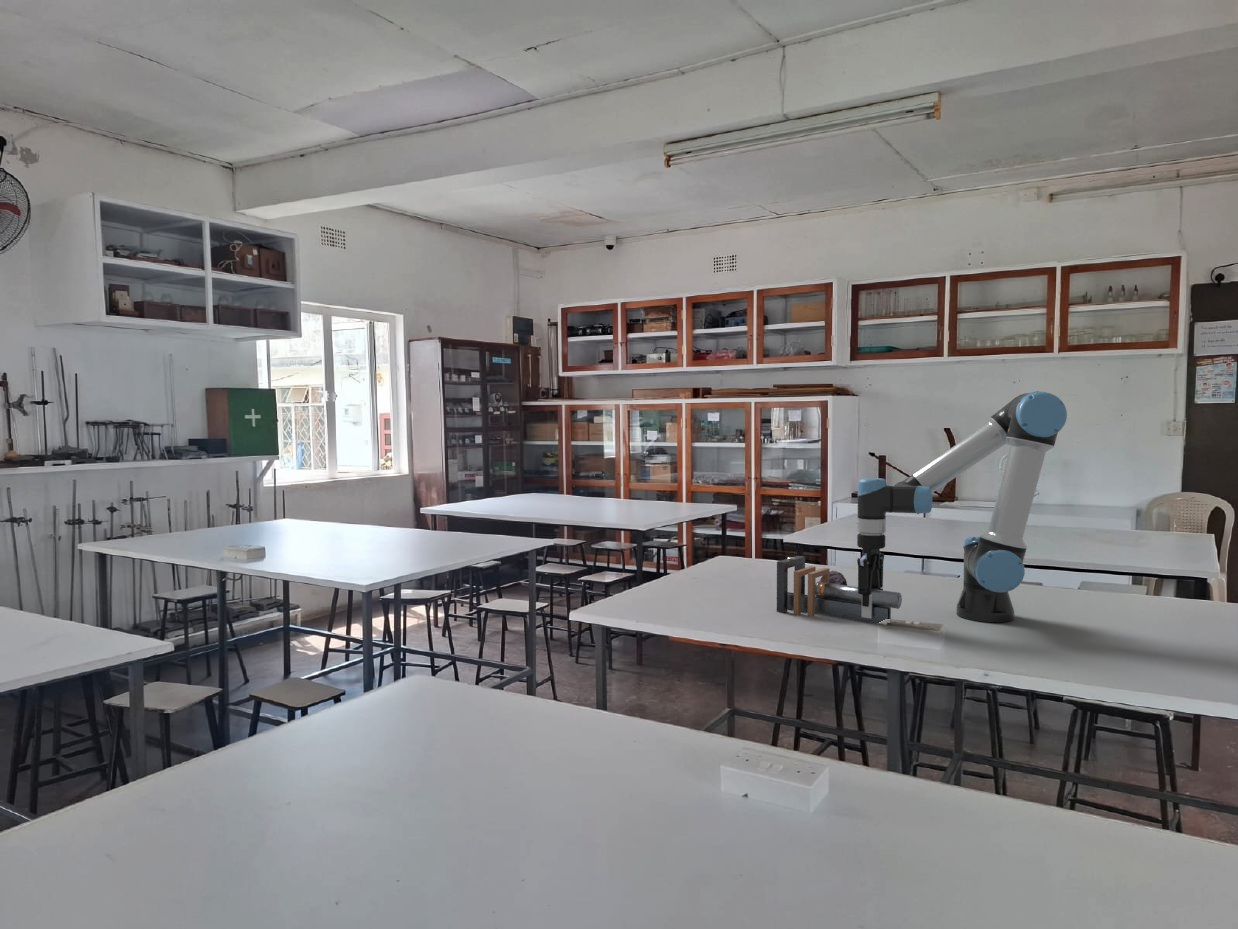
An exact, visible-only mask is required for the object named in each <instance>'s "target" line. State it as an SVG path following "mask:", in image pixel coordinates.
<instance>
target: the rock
mask: <svg viewBox="0 0 1238 929" xmlns="http://www.w3.org/2000/svg"><path fill="white" fill-rule="evenodd" d="M820 577H821V578H820V579H819V581H818V582H823V576H820ZM829 583H832V584H839V585H847V586H848V583H847V579H846V578H845V576H844V574H843V573H842V572H838V571H836V570H831V571H830V576H829Z"/></svg>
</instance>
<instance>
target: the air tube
mask: <svg viewBox="0 0 1238 929" xmlns="http://www.w3.org/2000/svg"><path fill="white" fill-rule="evenodd" d="M870 595H872V605H877V606H883V607H890V608H891V609H897V610H898V609H900V608H901V606H902V603H903V602H902V601H903V597H902V593H901V592H897V591H890V590H884V589H883V590H876V589H871V594H870ZM815 596H817V597H823V598H829V599H836V600H843V601H850V602H856V603H862V594H858V586H854V585H848V584H847V585H839V584H832V583H824V582H819V581H816V585H815Z"/></svg>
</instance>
